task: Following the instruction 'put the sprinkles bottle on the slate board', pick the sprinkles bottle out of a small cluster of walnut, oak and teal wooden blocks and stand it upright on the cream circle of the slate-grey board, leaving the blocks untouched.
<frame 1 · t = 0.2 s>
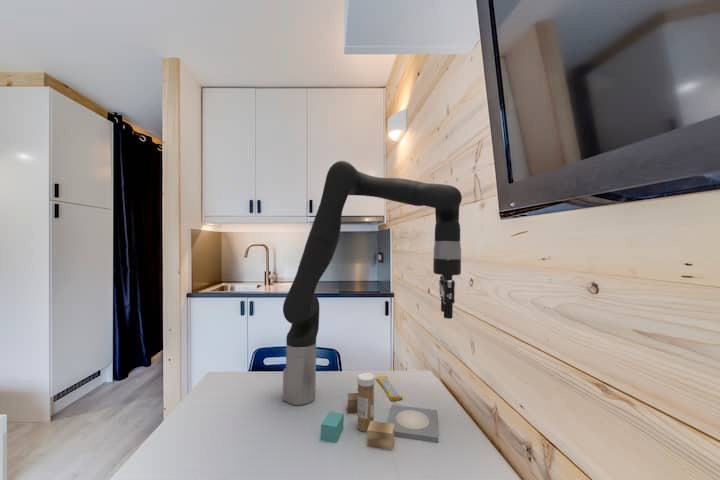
hand: (446, 314, 86), 29 cm above the table, tool pointing down, fingers open, 8 cm apart
candy bar: (388, 391, 102), on the table
teal block: (332, 434, 77), on the table
sprinkles bottle: (365, 427, 80), on the table
walnut block: (357, 410, 89), on the table
slate board: (412, 424, 82), on the table
oak block: (380, 443, 74), on the table
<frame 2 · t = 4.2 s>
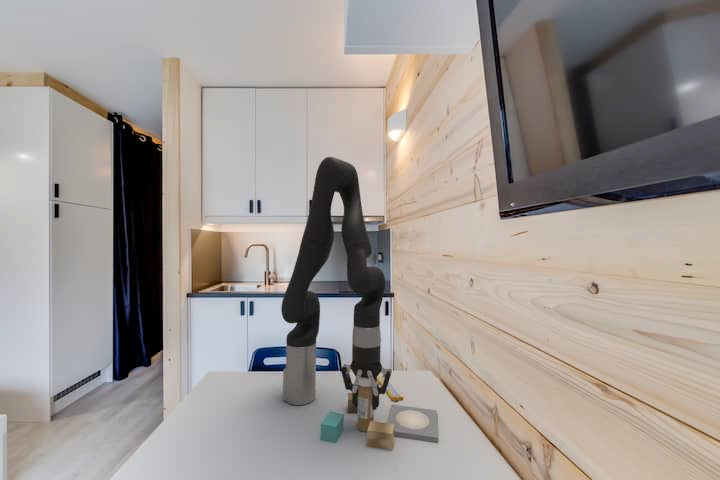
hand: (365, 406, 80), 5 cm above the table, tool pointing down, fingers closed on sprinkles bottle, 4 cm apart
sprinkles bottle: (365, 427, 80), on the table, touching gripper
everything else where it was.
when the fingers open (8 cm above the table, at t = 9.7 s): sprinkles bottle stays where it is, resting on slate board.
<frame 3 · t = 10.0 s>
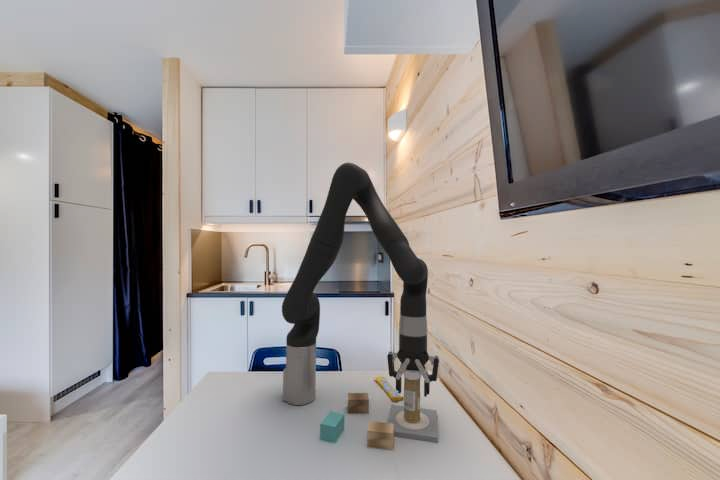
hand: (412, 393, 82), 8 cm above the table, tool pointing down, fingers open, 6 cm apart
sprinkles bottle: (411, 419, 82), point 1 cm above the table, touching slate board
everything else where it was.
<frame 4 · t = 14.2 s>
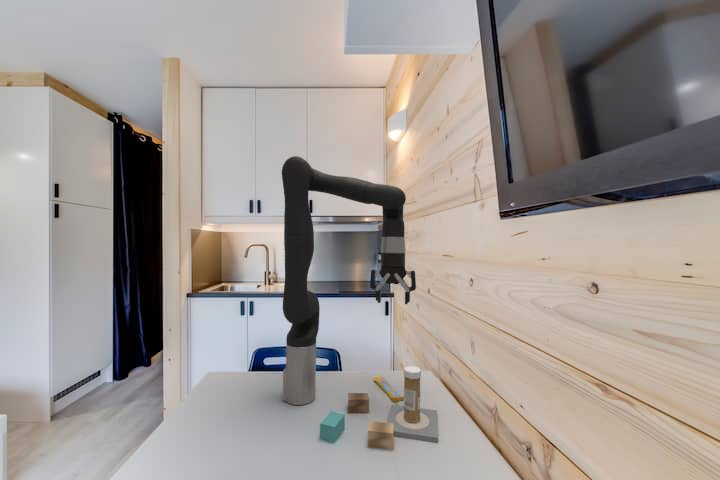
hand: (392, 303, 96), 30 cm above the table, tool pointing down, fingers open, 8 cm apart
nothing on the table moved.
at the end: sprinkles bottle inside the target area on the slate board (0.2 cm from its centre), point 1.1 cm above the slate board's base; sprinkles bottle tilted 0°; oak block moved 0.2 cm from its start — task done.
